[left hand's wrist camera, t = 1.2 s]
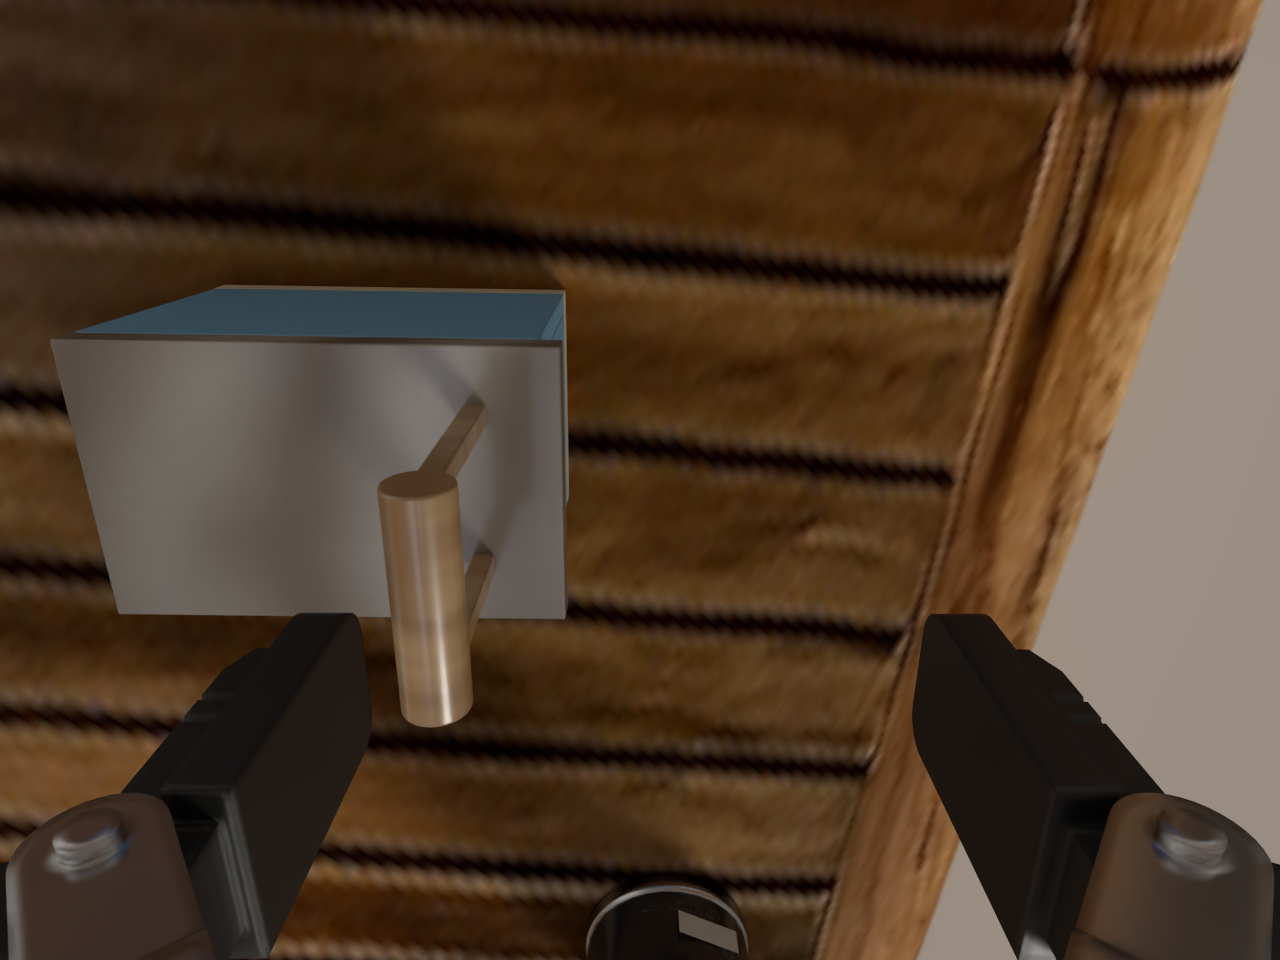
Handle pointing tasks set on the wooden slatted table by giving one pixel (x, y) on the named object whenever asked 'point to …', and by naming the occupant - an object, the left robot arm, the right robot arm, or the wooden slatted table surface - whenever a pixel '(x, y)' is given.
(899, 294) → the wooden slatted table surface
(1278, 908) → the left robot arm
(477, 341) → the lid
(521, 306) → the chest
